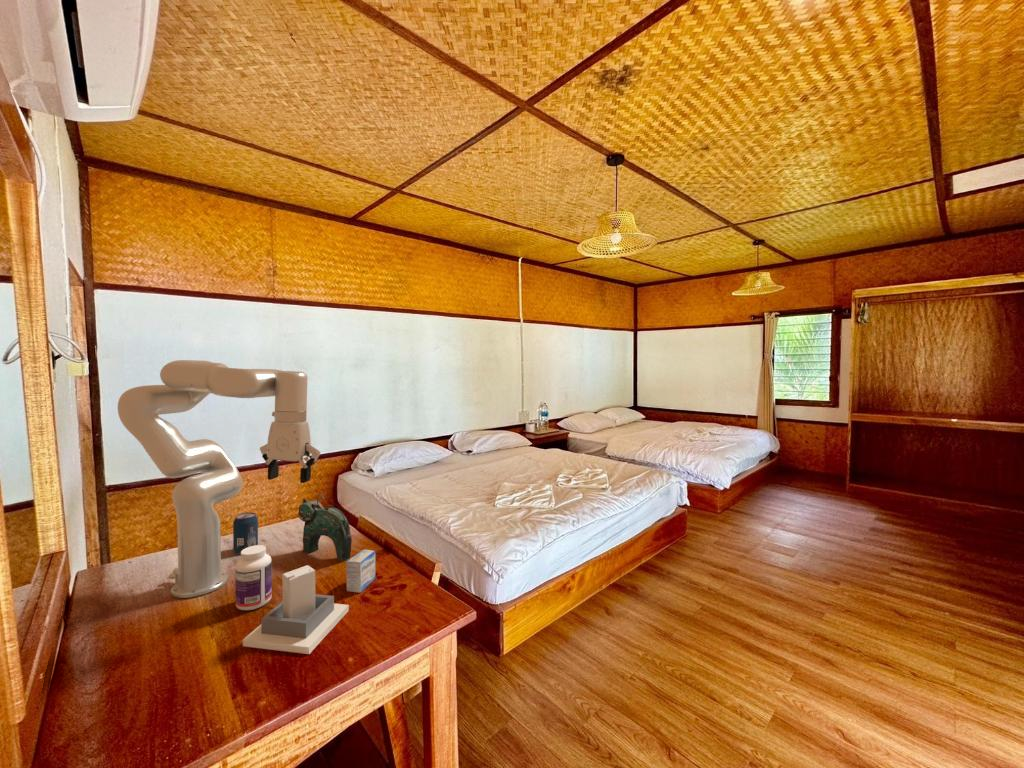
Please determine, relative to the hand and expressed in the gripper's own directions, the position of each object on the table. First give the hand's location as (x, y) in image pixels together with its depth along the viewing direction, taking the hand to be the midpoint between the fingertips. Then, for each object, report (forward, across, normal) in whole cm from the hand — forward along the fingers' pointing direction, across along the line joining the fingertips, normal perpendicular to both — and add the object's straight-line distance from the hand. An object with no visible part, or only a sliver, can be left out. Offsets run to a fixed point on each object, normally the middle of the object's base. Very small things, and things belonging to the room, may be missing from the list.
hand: (289, 480), depth 109 cm
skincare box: (+30, +13, -12) cm, 35 cm away
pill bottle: (+32, -5, -5) cm, 33 cm away
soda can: (+33, -32, +21) cm, 50 cm away
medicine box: (+31, +17, +8) cm, 37 cm away
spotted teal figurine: (+32, -4, +24) cm, 40 cm away
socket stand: (+31, +13, -12) cm, 36 cm away
